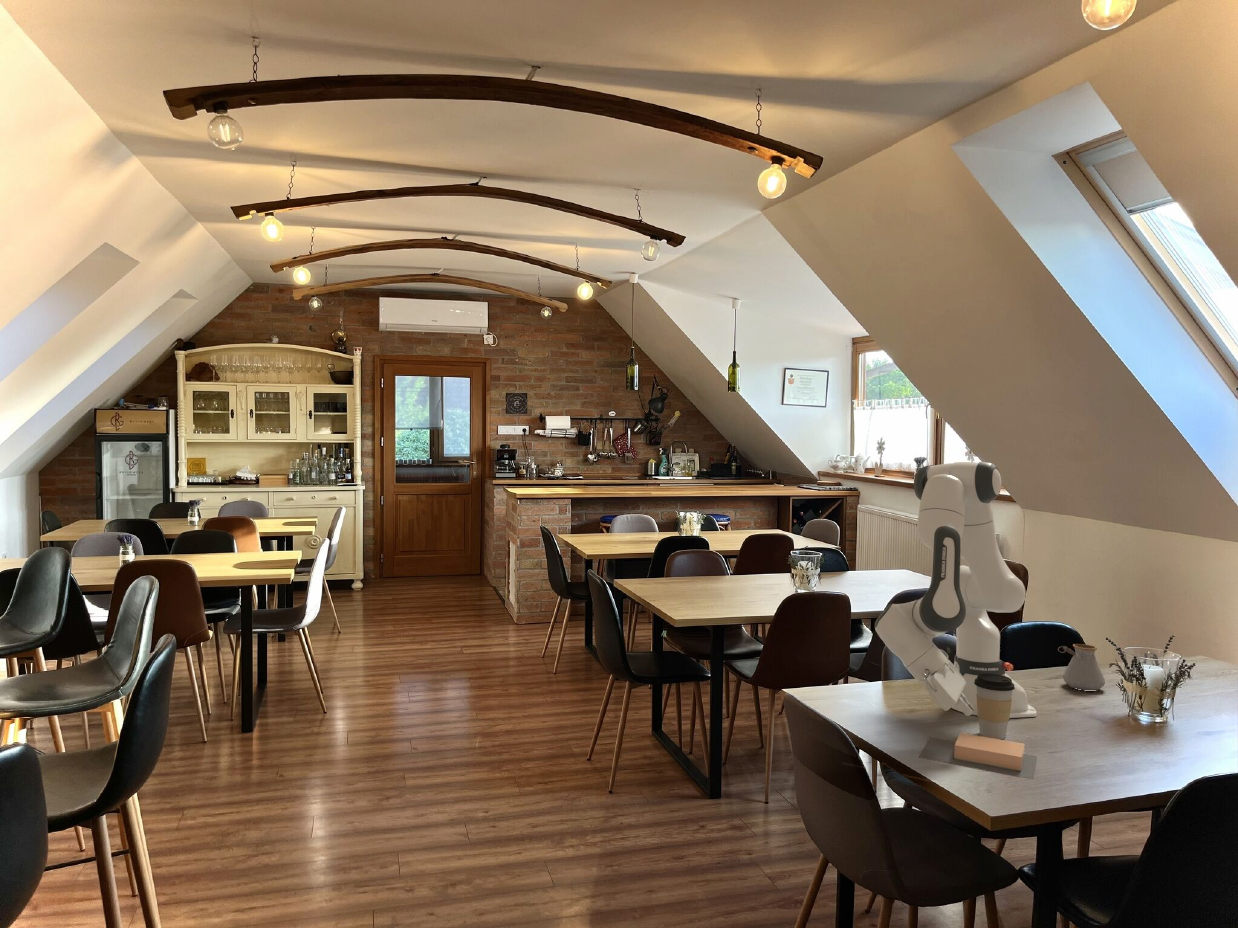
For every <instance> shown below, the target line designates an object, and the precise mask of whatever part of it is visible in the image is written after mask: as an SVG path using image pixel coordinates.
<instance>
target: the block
mask: <svg viewBox="0 0 1238 928" xmlns="http://www.w3.org/2000/svg"><path fill="white" fill-rule="evenodd" d="M955 742H956V743H955V751H954V758H956V760H962V761H967V762H972V763H978V764H983V765H988V766H994V767H999V768H1005V769H1010V770H1015V771H1020V770H1021V769H1022V764H1023V759H1024V754H1025V746H1026V745H1025V743H1023V742H1017V741H1011V740H1004V739H994V738H988V737H984V736H982V735H975V734H969V733H966V732H965V733H963V732H960V733H959V735H958V737H957V739H956V741H955Z"/></svg>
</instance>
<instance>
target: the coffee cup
mask: <svg viewBox="0 0 1238 928" xmlns="http://www.w3.org/2000/svg"><path fill="white" fill-rule="evenodd" d="M1009 677H1010V676H1009ZM1009 677H1006V676H1003V675H998V674H988V673H985V674H979V675H978V676H977V678H976V679H975V682H974V684H975V685H976V687H977V694H976V696H977V711H978V716H977V717H978V726H979V727H978V728H979V736H982V737H988V738H994V739H1000V740H1004V739H1006V737H1007V730H1008V724H1009V721H1010V718H1009V717H1010V710H1011V703H1012V692H1013V690H1014V689H1015V687H1014V684H1013V683H1012V679H1013V678H1012V679H1011V677H1010V678H1009Z"/></svg>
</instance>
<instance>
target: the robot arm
mask: <svg viewBox="0 0 1238 928" xmlns="http://www.w3.org/2000/svg"><path fill="white" fill-rule="evenodd" d="M913 477H914V478H913V489H914V494H915V496H916V498H917V499H918V500H920V503H919V509H918V516H917V533H918V539H919V540H920V542H921V543H922V545H924V546H926V548H928V549H930V551H931V573H930V584H929V588H928V589H927V591H926V593H925V594H924V595H923V596H922V597H921V598H919V599H915V600H913V601H910V602H909V601H908V602H905V603H891V604H889V605H888V606H886V607H885V609H884V610H883V611H882V612H881V613H880V614H879V615H878V617H877V618H876V620H875V621H874V629H875V632H876V633H877V636H878V637H879V638H880V639H881V640H882V641H883V643H884V644H885V646H886V647H887V648H888V649H889V650H890V651H891V654H893V655H894V656H897V657H898V658H899V659H900V661H901V663H902V664H903V666H904V667H905V669H906V670H907V671H908V672H909V673H910V675H912V676H913V678H914V679H915V680H916V682H918V684H920V683H922V682H923V687H924V688H925V690H926V691H927V693H928V694H929V695H930V697H931V698H932V699H933V700H934V701H935V703H936V704H937V705H938V706H939V708H941V709H942V710H943V711H945V712H947V711H948V710H950V709H953V710H956V711H958V712H961V713H963V714H964V715H965V716H966V717H970V716H971V715H973V716H977V717H978V711H977V696H976V694H977V687H976V685H975V684H974V682H975V679H976V678H977V676H978V675H979V674H985V673H988V674H998V675H1003V676H1006V677H1009V678H1011V677H1010V675H1008V674H1007V673H1006V671H1008V672H1011V671H1013V669H1014V665H1013V664H1011V663H1010V662H1005V661H1003V660H1001V659H1000V652H1001V649H1000V648H1001V647H1000V645H1001V633H1000V630H999V628H998V627H997V626H996V625H995V624H994V623H993V622H992V620H991V619H990V617H989V615H988V613H987V611H988V612H989V611H990V612H992V613H993V612H994V613H998V614H999V613H1014V612H1015V613H1016V612H1017V611H1019V609H1021V607H1022V606H1023V605H1024V602H1025V600H1026V595H1027V594H1026V587H1025V585H1024V583H1023V581H1022V580H1021V579H1019V577H1017V575H1015V574H1014V573H1013V572H1012V571H1011V569H1010V568H1009V566H1008V564H1007V563H1006V561H1005V560H1004V558H1003V556H1002V554H1001V551H1000V549H999V546H998V545H999V544H998V541H997V536H996V535H997V534H996V533H997V532H996V527H995V520H994V512H993V507H992V503H991V502H992V501H995V500H996V498H998V497H999V495H1000V493H1001V489H1002V483H1003V482H1002V476H1001V474H1000V470H999V468H998V467H997V466H996V465H995V464H994V463H992V462H986V461H979V462H972V461H956V462H951V463H942V464H936V465H933V464H929V465H925V466H922V467H919V469H918V470H917V471H916V473H914V476H913ZM961 558H962V560H963V561H964V562H965V563H966V565H963V564H962V565H961ZM954 630H955V631H956V632H955V634H956V650H955V651H956V654H955V655H954V660H953V662H954V663H953V662H951V660H950V659H949V655H948V653H947V652H946V651H945V650H943V649H940V648H938V646H936V644H935V643H934V642H933V638H937V637H939V636H942V635H943V634H945V633H948V632H950V631H954ZM1011 679H1012V683H1013V684H1014V687H1015V689H1014V690H1013V692H1012V703H1011V710H1010V717H1009V719H1012V718H1013V719H1014V718H1016V719H1017V718H1032V717H1034V718H1035V717H1037V714H1038V713H1037V710H1036V709H1035V708H1034V707H1033V706H1032V705H1030V704H1029V702H1028V701H1029V700H1028V696H1027V693H1026V690H1025V689H1024V688H1023V687H1022V686H1021V684H1019V683H1018V682H1016V681H1015V680H1014V679H1013V678H1011Z"/></svg>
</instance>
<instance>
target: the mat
mask: <svg viewBox="0 0 1238 928" xmlns="http://www.w3.org/2000/svg"><path fill="white" fill-rule="evenodd" d="M955 743H956V741H954V740H948V739H942V738H936V737H933V736H929V738H928V740H927V742H926V743H925V745H924V747H923V748H922V751H921V752H920V754H919V755H918V758H920V759H925V760H929V761H934V762H941V763H946V764H950V765H957V766H962V767H968V768H972V769H977V770H983V771H987V772H991V773H992V772H993V773H999V774H1003V775H1007V776H1008V775H1009V776H1013V777H1018V778H1019V777H1020V778H1025V779H1029V780H1030V779H1031V780H1034V779H1035V772H1036V766H1037V760H1038V756H1037V755H1032V754H1027V753H1024V759H1023V764H1022V769H1021V770H1020V771H1015V770H1010V769H1005V768H999V767H994V766H988V765H983V764H978V763H972V762H967V761H962V760H956V758H954V751H955Z"/></svg>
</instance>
